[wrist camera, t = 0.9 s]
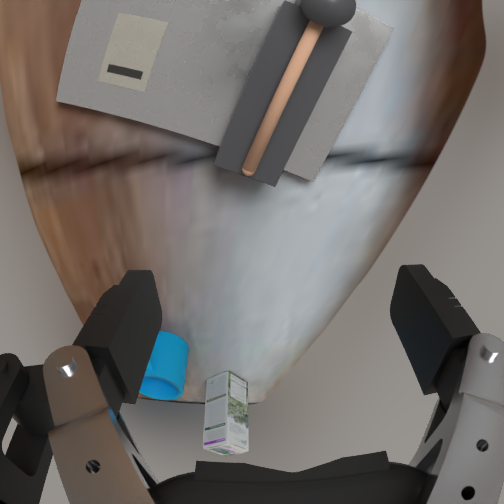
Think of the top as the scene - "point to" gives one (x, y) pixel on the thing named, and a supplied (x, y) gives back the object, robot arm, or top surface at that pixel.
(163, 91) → the panel
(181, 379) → the mug
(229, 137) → the cable arm
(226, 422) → the syrup box
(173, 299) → the top surface
